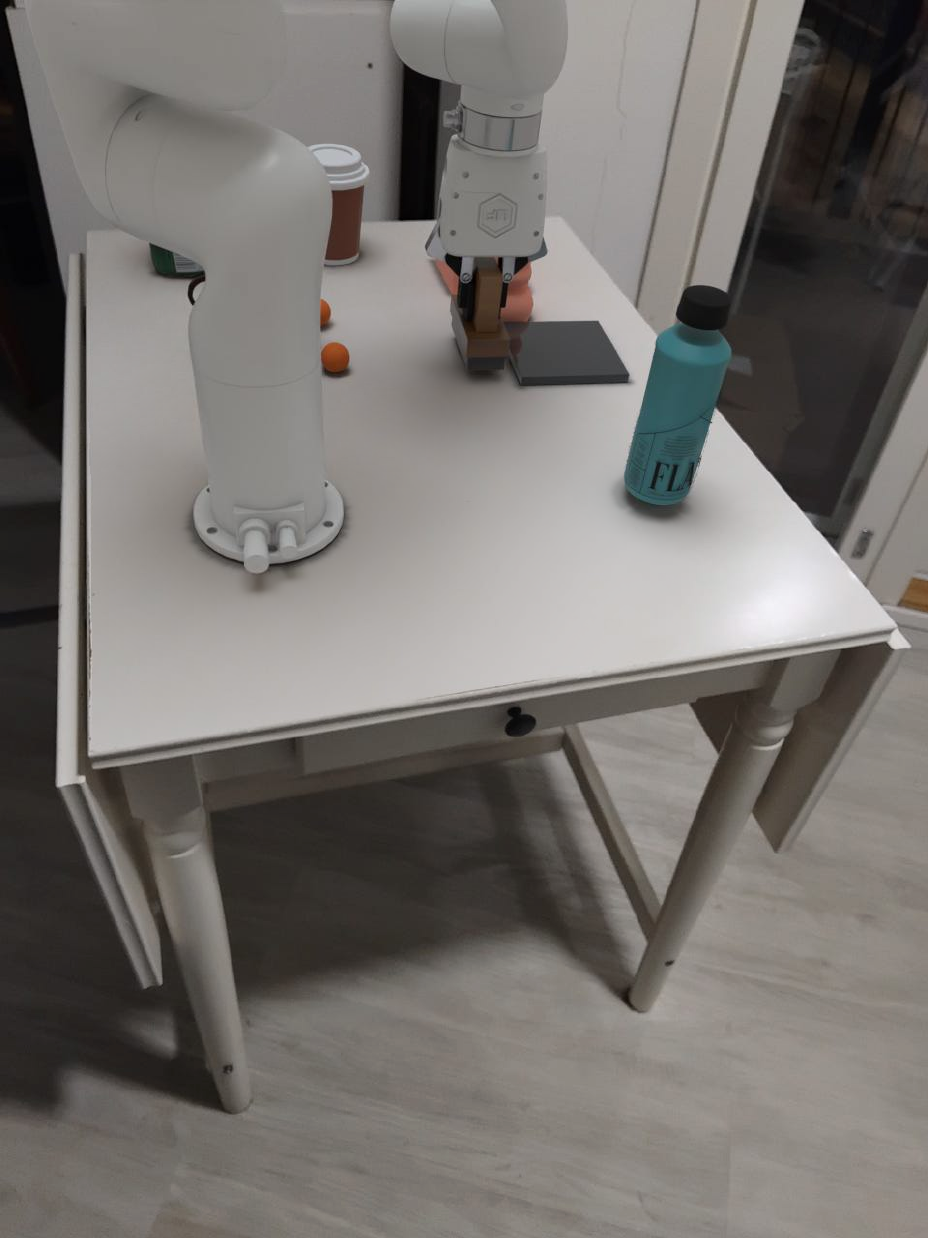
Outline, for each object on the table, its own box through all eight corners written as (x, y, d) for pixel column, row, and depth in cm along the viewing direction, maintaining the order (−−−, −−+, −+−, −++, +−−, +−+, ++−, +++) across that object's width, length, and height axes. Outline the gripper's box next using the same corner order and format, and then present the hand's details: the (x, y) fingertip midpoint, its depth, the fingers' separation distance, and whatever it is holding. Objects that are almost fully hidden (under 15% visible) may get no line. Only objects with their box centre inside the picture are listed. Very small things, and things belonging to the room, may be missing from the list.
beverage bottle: (634, 523, 85) (689, 315, 71) (607, 479, 89) (653, 276, 75) (699, 515, 87) (765, 311, 73) (669, 473, 91) (726, 272, 77)
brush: (506, 370, 100) (517, 283, 93) (464, 371, 99) (473, 283, 92) (488, 324, 107) (497, 240, 100) (448, 324, 106) (455, 239, 99)
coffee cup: (307, 273, 115) (303, 170, 106) (288, 241, 121) (283, 141, 112) (378, 266, 118) (380, 165, 109) (356, 236, 123) (356, 138, 115)
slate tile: (627, 382, 103) (629, 374, 102) (520, 385, 100) (522, 377, 100) (596, 328, 111) (598, 320, 110) (497, 329, 109) (498, 321, 108)
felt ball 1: (329, 299, 103) (338, 323, 105) (320, 289, 105) (328, 313, 107) (305, 310, 103) (314, 334, 105) (296, 300, 105) (305, 324, 107)
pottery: (435, 261, 120) (439, 181, 113) (506, 259, 122) (515, 180, 115) (470, 331, 108) (478, 246, 101) (549, 327, 110) (562, 244, 103)
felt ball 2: (319, 339, 97) (319, 345, 100) (321, 369, 97) (321, 374, 100) (349, 339, 97) (348, 344, 100) (350, 369, 97) (350, 373, 100)
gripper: (419, 138, 83) (410, 331, 96) (593, 142, 86) (561, 330, 99) (407, 110, 88) (400, 297, 101) (571, 115, 91) (544, 296, 104)
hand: (480, 312), depth 100 cm, fingers closed on brush, 2 cm apart
